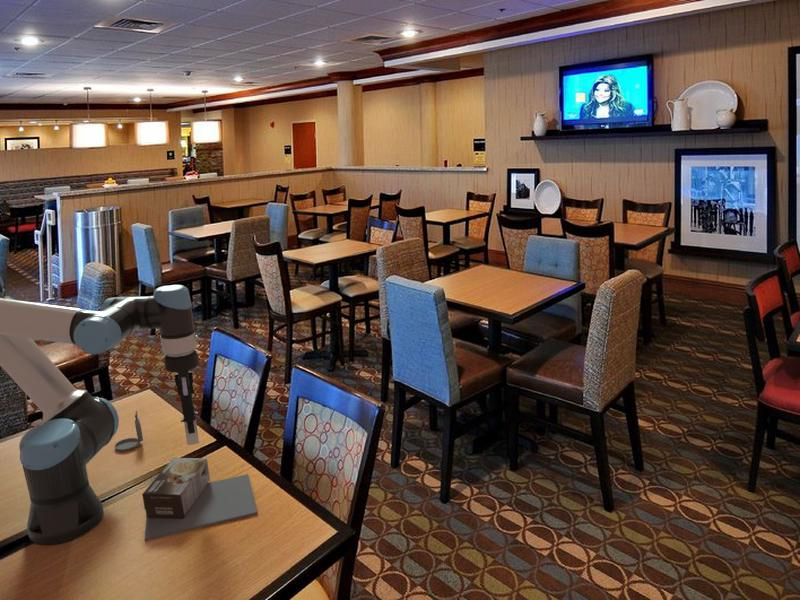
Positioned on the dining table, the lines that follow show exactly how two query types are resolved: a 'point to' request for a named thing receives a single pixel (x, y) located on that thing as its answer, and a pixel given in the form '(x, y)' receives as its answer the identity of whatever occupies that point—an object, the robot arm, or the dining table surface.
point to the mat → (209, 508)
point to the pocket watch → (131, 442)
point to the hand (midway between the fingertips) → (193, 442)
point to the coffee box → (176, 488)
